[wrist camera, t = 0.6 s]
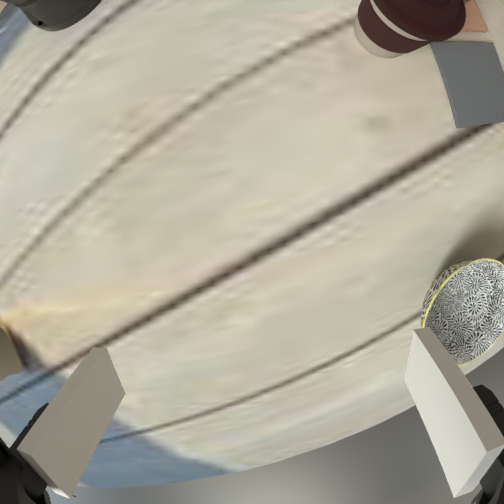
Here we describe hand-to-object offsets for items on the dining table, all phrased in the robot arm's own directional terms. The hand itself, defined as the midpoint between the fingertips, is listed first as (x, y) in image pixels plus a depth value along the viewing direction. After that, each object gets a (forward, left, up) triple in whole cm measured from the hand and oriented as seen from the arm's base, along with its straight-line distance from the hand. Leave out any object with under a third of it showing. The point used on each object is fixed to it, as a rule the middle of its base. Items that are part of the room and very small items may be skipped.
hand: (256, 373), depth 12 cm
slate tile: (-12, +34, -28) cm, 45 cm away
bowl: (+17, +23, -28) cm, 40 cm away
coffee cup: (-20, +21, -28) cm, 40 cm away
